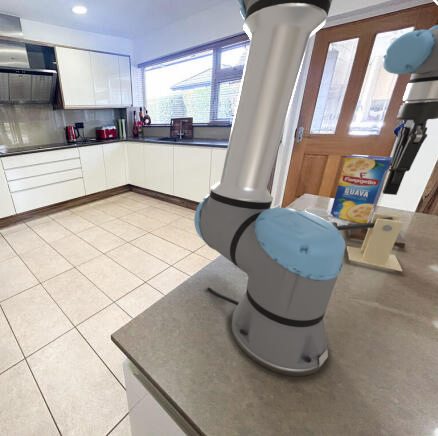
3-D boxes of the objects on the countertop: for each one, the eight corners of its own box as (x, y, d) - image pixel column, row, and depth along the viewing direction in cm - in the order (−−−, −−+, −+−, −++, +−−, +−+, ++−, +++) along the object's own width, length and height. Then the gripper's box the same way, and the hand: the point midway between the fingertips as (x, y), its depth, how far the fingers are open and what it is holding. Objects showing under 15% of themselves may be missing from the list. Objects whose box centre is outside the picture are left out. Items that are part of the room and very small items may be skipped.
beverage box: (335, 210, 93) (352, 154, 84) (372, 218, 85) (394, 157, 76) (329, 215, 90) (345, 157, 81) (366, 224, 81) (389, 160, 73)
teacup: (301, 228, 81) (304, 215, 80) (295, 216, 90) (297, 205, 88) (335, 230, 78) (339, 218, 76) (325, 219, 87) (328, 207, 85)
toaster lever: (332, 237, 63) (330, 228, 62) (331, 228, 67) (330, 220, 67) (397, 232, 55) (395, 223, 55) (391, 223, 60) (390, 214, 59)
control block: (348, 240, 72) (352, 229, 71) (346, 229, 79) (349, 218, 77) (402, 250, 66) (408, 238, 64) (395, 237, 73) (400, 225, 71)
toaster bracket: (348, 263, 62) (363, 219, 57) (345, 249, 68) (359, 208, 63) (400, 274, 57) (422, 227, 52) (393, 258, 63) (412, 215, 58)
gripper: (458, 100, 50) (414, 202, 60) (436, 100, 60) (401, 188, 70) (409, 103, 54) (375, 198, 64) (395, 103, 64) (368, 186, 74)
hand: (389, 193), depth 67 cm, fingers closed
